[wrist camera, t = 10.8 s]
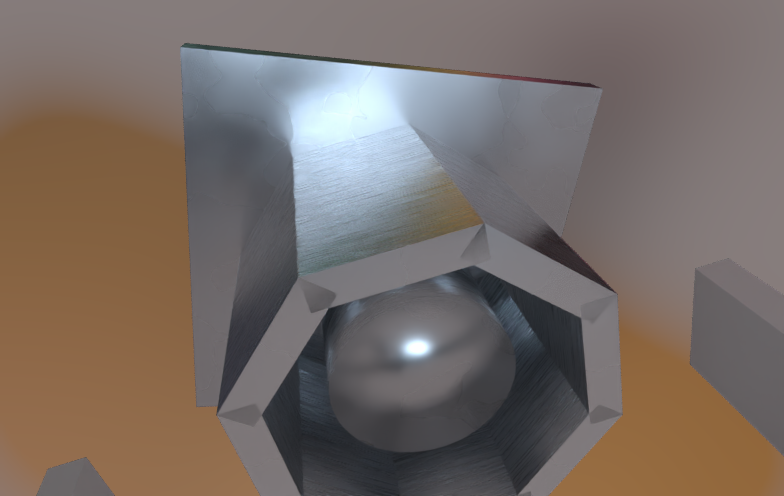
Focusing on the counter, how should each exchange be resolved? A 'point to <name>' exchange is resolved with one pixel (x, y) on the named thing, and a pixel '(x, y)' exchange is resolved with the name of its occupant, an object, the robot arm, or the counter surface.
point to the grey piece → (396, 269)
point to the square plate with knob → (393, 307)
